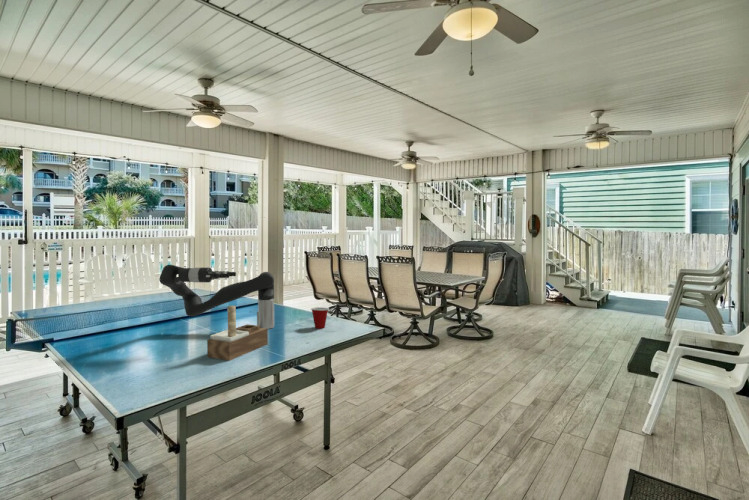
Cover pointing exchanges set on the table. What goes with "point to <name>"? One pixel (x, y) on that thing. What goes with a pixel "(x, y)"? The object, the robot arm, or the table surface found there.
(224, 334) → the tray
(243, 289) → the robot arm
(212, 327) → the table surface
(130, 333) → the table surface
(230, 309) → the dowel
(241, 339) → the wooden block with recesses
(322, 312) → the plastic cup
